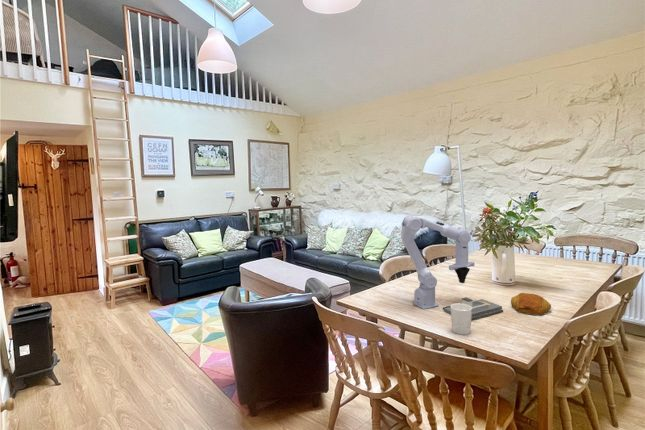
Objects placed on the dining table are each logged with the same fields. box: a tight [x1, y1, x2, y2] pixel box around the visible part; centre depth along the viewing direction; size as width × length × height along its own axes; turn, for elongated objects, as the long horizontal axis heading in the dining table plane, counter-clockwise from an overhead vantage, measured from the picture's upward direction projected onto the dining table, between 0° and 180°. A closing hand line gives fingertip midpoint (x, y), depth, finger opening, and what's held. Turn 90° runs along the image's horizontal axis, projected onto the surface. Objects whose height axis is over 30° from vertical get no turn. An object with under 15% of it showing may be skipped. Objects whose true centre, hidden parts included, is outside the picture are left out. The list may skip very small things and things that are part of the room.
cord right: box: [471, 309, 504, 322], centre depth 153 cm, size 20×1×1 cm, turn 114°
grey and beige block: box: [461, 297, 474, 307], centre depth 158 cm, size 2×4×4 cm
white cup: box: [450, 302, 473, 336], centre depth 139 cm, size 8×8×10 cm
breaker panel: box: [443, 298, 503, 318], centre depth 160 cm, size 24×11×3 cm, turn 114°
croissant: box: [510, 292, 552, 316], centre depth 158 cm, size 14×16×8 cm
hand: (461, 282), depth 169 cm, fingers closed
